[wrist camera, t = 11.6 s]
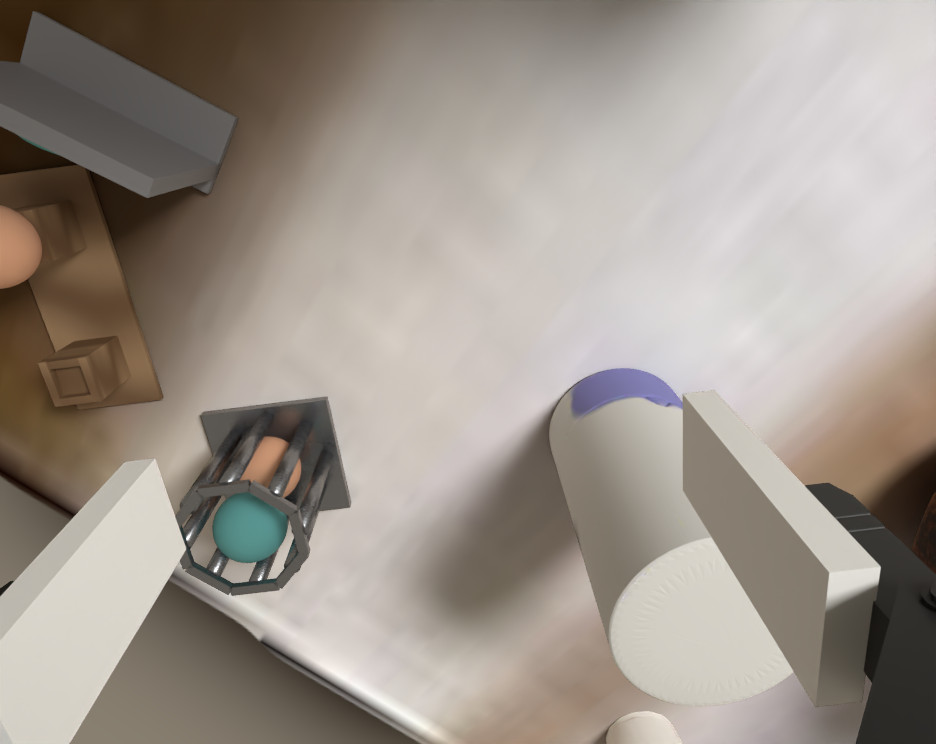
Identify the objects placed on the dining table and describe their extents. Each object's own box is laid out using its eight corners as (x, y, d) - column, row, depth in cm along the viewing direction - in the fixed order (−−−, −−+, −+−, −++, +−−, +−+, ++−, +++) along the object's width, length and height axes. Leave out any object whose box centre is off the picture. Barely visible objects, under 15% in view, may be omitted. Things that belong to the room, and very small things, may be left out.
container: (533, 475, 50) (583, 694, 31) (569, 354, 46) (650, 520, 27) (657, 498, 51) (778, 723, 32) (702, 382, 47) (867, 559, 28)
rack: (-8, 176, 41) (-62, 183, 36) (87, 163, 40) (44, 169, 36) (81, 407, 46) (43, 437, 42) (163, 397, 46) (134, 426, 42)
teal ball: (199, 491, 40) (196, 567, 40) (270, 491, 40) (267, 568, 39) (235, 488, 45) (233, 556, 44) (299, 487, 44) (298, 557, 44)
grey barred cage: (203, 411, 47) (143, 486, 38) (327, 396, 47) (296, 467, 37) (235, 516, 50) (187, 608, 41) (351, 503, 50) (328, 592, 41)
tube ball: (242, 436, 48) (217, 445, 43) (304, 428, 48) (285, 437, 43) (250, 498, 48) (226, 514, 43) (312, 490, 48) (294, 505, 43)
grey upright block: (39, 12, 37) (-97, -21, 28) (238, 117, 40) (174, 120, 30) (17, 96, 39) (-119, 91, 30) (210, 192, 41) (140, 216, 32)
